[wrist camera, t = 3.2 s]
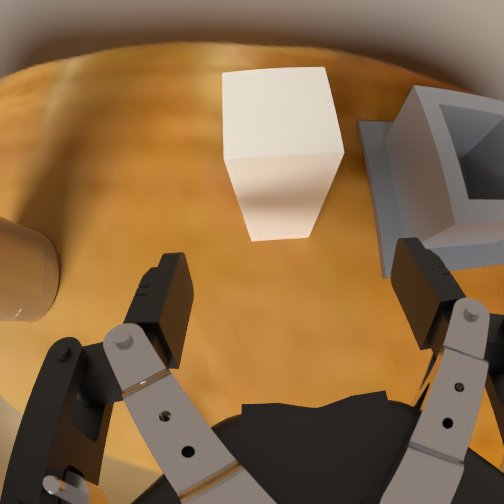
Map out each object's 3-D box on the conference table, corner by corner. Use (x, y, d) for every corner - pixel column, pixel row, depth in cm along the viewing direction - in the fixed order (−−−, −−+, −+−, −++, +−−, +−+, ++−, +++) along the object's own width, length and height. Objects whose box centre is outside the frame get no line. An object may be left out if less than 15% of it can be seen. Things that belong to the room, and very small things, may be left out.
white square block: (251, 241, 25) (223, 159, 11) (248, 188, 26) (222, 72, 12) (308, 237, 25) (344, 152, 11) (302, 184, 26) (324, 67, 12)
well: (382, 278, 24) (432, 261, 15) (356, 125, 26) (380, 62, 18) (505, 263, 23) (566, 245, 14) (473, 133, 26) (515, 88, 17)
